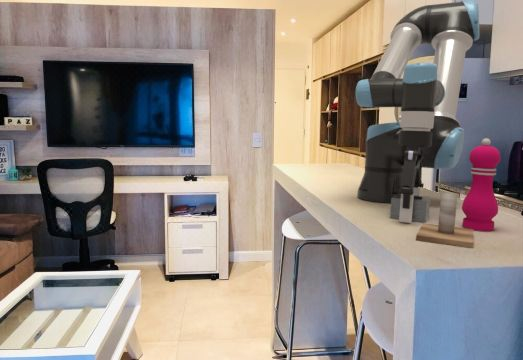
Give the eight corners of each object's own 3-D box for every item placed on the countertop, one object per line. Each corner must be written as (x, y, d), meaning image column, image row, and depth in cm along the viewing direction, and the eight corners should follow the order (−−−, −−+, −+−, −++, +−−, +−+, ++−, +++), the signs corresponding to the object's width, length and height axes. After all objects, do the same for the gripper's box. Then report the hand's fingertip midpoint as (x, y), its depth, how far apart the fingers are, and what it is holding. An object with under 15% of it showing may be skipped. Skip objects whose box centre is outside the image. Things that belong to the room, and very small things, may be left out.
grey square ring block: (395, 212, 109) (396, 193, 108) (428, 216, 106) (429, 196, 105) (389, 218, 102) (391, 197, 101) (425, 222, 98) (426, 201, 98)
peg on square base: (422, 227, 93) (425, 187, 92) (472, 233, 89) (476, 191, 88) (415, 240, 82) (419, 194, 81) (472, 248, 78) (477, 200, 77)
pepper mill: (501, 233, 90) (510, 139, 88) (464, 230, 92) (473, 138, 89) (490, 225, 97) (498, 138, 95) (456, 223, 99) (464, 137, 96)
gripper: (406, 130, 114) (401, 207, 116) (390, 128, 91) (384, 224, 94) (436, 130, 110) (430, 210, 113) (427, 130, 88) (419, 229, 91)
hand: (409, 217), depth 103 cm, fingers open, 13 cm apart
